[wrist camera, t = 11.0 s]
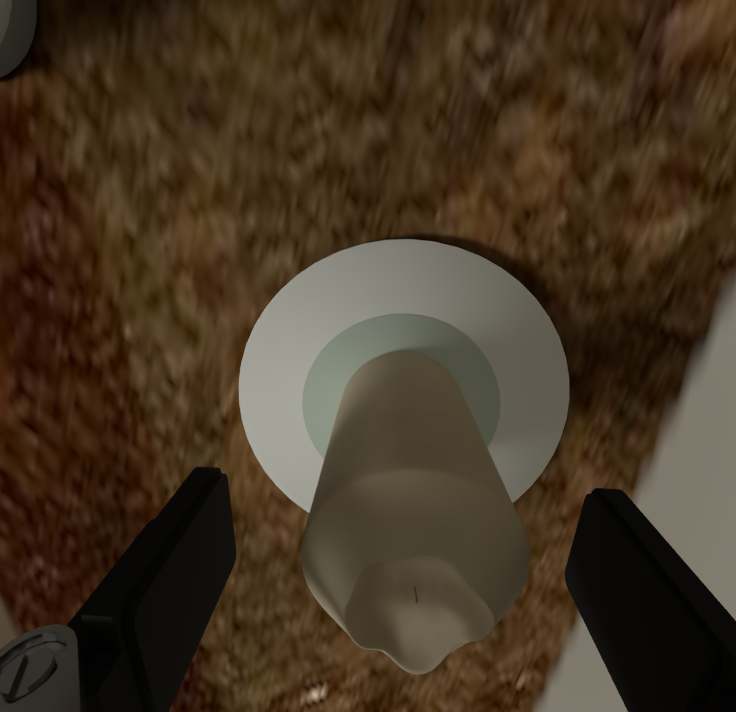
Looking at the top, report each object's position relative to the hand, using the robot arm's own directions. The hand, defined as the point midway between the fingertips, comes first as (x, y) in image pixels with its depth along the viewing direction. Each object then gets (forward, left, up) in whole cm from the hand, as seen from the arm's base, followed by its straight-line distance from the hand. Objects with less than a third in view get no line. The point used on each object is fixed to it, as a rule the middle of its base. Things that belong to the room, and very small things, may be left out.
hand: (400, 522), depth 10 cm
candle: (0, 0, -8) cm, 8 cm away
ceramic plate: (+1, 0, -9) cm, 9 cm away
